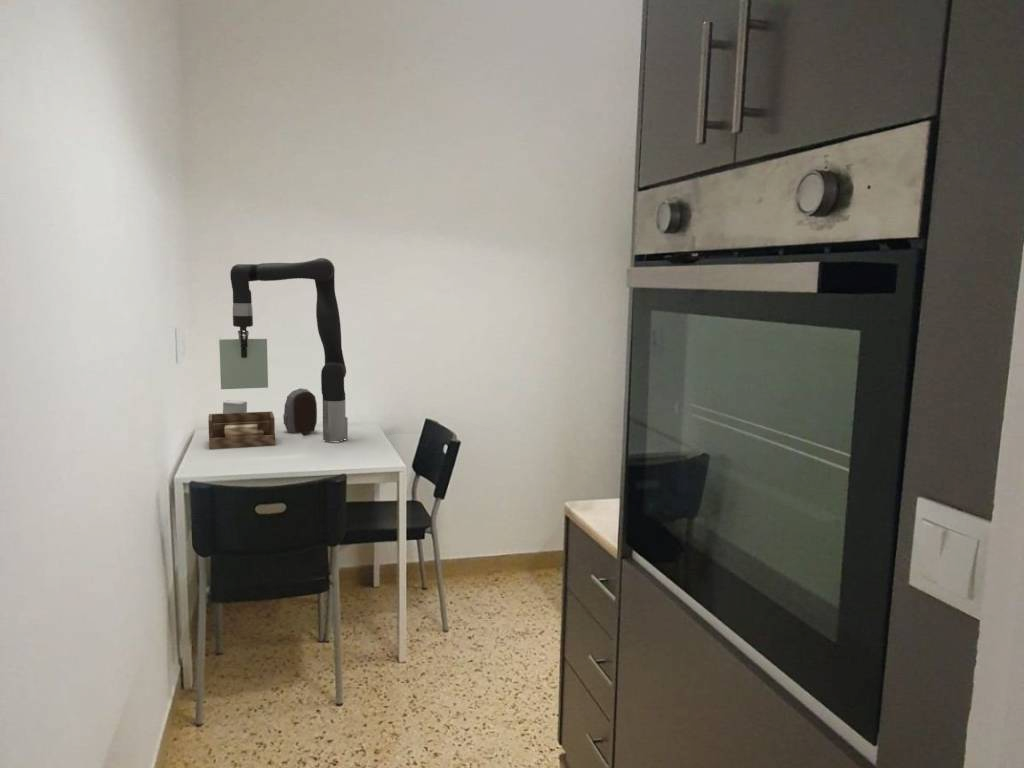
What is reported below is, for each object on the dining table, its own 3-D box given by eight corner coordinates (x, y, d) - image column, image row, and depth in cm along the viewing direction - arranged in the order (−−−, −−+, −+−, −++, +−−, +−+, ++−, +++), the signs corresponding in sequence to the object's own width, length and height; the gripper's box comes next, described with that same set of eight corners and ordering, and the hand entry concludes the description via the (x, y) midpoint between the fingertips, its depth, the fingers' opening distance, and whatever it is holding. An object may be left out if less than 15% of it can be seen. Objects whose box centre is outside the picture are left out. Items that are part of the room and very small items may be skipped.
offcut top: (257, 430, 290) (257, 424, 289) (257, 433, 285) (257, 426, 285) (225, 431, 286) (225, 425, 286) (224, 434, 281) (224, 428, 281)
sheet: (267, 386, 301) (266, 338, 298) (268, 387, 299) (266, 339, 296) (220, 388, 294) (219, 339, 291) (221, 389, 292) (219, 339, 289)
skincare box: (222, 437, 304) (221, 402, 302) (228, 434, 310) (227, 399, 308) (242, 438, 304) (241, 403, 301) (247, 434, 310) (247, 400, 307)
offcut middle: (262, 435, 292) (262, 429, 291) (263, 438, 287) (263, 432, 287) (224, 438, 286) (224, 431, 285) (225, 440, 281) (225, 434, 281)
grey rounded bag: (289, 437, 306) (288, 391, 303) (279, 434, 312) (278, 388, 309) (320, 432, 317) (320, 387, 314) (310, 429, 323) (310, 385, 320)
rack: (272, 441, 300) (272, 411, 298) (275, 449, 287) (274, 418, 285) (209, 444, 291) (208, 414, 289) (209, 453, 278) (208, 421, 276)
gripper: (253, 315, 287) (254, 359, 290) (251, 313, 300) (252, 355, 302) (233, 315, 284) (234, 359, 287) (232, 313, 297) (233, 355, 300)
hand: (244, 357), depth 295 cm, fingers closed on sheet, 2 cm apart
